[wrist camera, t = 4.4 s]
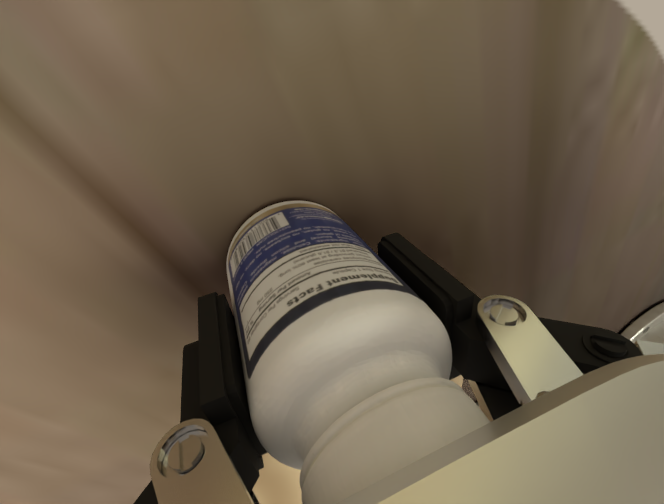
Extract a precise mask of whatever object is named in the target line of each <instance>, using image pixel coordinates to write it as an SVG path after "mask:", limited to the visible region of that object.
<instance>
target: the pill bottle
mask: <svg viewBox="0 0 664 504" xmlns="http://www.w3.org/2000/svg"><path fill="white" fill-rule="evenodd" d="M226 264H227V277H228V284H229V290H230V295H231V301H232V307H233V313H234V319H235V325H236V331H237V337H238V343H239V348H240V355H241V361H242V368H243V374H244V380H245V387H246V393H247V400H248V406H249V412H250V417H251V421H252V425H253V428H254V431H255V433H256V435H257V437H258V439H259V441H260V443H261V444H262V446H263V447H264V448H265V450H266V451H267V452H268V453H269V454H270V455H271V456H272V457H273V458H275V459H276V460H278V461H279V462H281V463H282V464H285V465H287V466H289V467H292V468H295V469H298V470H301V472H300V488H301V491H302V504H336V503H338V502H340V501H341V500H343V499H345V498H347V497H349V496H351V495H353V494H355V493H356V492H358V491H360V490H362V489H364V488H366V487H368V486H370V485H372V484H373V483H375V482H377V481H379V480H381V479H383V478H385V477H387V476H389V475H390V474H392V473H394V472H396V471H398V470H400V469H402V468H404V467H406V466H408V465H410V464H411V463H413V462H415V461H417V460H419V459H421V458H423V457H425V456H427V455H429V454H430V453H432V452H434V451H436V450H438V449H440V448H442V447H444V446H446V445H448V444H450V443H451V442H453V441H455V440H457V439H459V438H461V437H463V436H465V435H467V434H469V433H471V432H473V431H474V430H476V429H478V428H480V427H482V426H484V425H486V424H488V423H490V421H489V419H488V418H487V417H486V416H485V414H484V413H483V412H482V410H481V409H480V408H479V407H478V406H477V404H476V403H475V402H474V401H473V400H472V399H471V398H470V397H469V396H468V395H467V394H466V393H465V392H464V391H463V390H462V388H461V387H460V386H459V385H457V384H456V383H455V382H453V381H451V380H449V377H450V372H451V367H452V348H451V342H450V339H449V336H448V333H447V331H446V329H445V327H444V325H443V323H442V322H441V321H440V319H439V318H438V317H437V316H436V314H435V313H434V312H433V311H432V310H431V309H430V308H429V307H428V305H427V304H426V303H425V302H424V301H423V300H422V299H421V298H420V297H419V296H418V295H417V294H416V293H415V292H414V291H413V290H412V289H411V288H410V287H409V286H408V285H407V284H406V283H405V282H404V281H403V280H402V279H401V278H400V277H399V276H398V275H397V274H396V273H395V272H394V271H393V270H392V269H391V268H390V267H389V266H388V265H387V264H386V263H385V262H384V261H383V260H382V259H381V258H380V257H379V256H378V255H377V254H376V253H375V252H374V251H373V250H372V249H371V248H370V247H369V246H368V245H367V244H366V243H365V242H364V241H363V240H362V239H361V238H360V237H359V236H358V235H357V234H356V233H355V232H354V231H353V230H352V229H351V228H350V227H349V226H348V225H347V224H346V223H345V222H344V221H343V220H342V219H341V218H340V217H339V216H338V215H336V214H335V213H334V212H333V211H331V210H330V209H328V208H326V207H324V206H322V205H320V204H317V203H313V202H308V201H286V202H280V203H277V204H273V205H271V206H268V207H266V208H264V209H262V210H260V211H259V212H257V213H256V214H254V215H253V216H252V217H250V218H249V219H248V220H247V221H246V222H245V223H244V224H243V225H242V226H241V227H240V229H239V230H238V231H237V233H236V234H235V236H234V238H233V240H232V242H231V244H230V247H229V251H228V255H227V262H226Z"/></svg>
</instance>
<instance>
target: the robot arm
mask: <svg viewBox="0 0 664 504" xmlns="http://www.w3.org/2000/svg"><path fill="white" fill-rule="evenodd" d="M378 256H379V257H380V258H381V259H382V260H383V261H384V262H385V263H386V264H387V265H388V266H389V267H390V268H391V269H392V270H393V271H394V272H395V273H396V274H397V275H398V276H399V277H400V278H401V279H402V280H403V281H404V282H405V283H406V284H407V285H408V286H409V287H410V288H411V289H412V290H413V291H414V292H415V293H416V294H417V295H418V296H419V297H420V298H421V299H422V300H423V301H424V302H425V303H426V304H427V305H428V307H429V308H430V309H431V310H432V311H433V312H434V313H435V314H436V316H437V317H438V318H439V319H440V321H441V322H442V323H443V325H444V327H445V329H446V331H447V333H448V336H449V339H450V342H451V348H452V367H451V372H450V377H449V380H451V379H453V378H456V377H458V376H460V375H462V377H463V378H464V379H468V381H469V384H470V386H471V388H472V390H473V393H474V395H475V397H476V399H477V402H478V404H479V406H480V408H481V410H482V412H483V413H484V414H485V416H486V417H487V418H488V419H489V421H490V423H488V424H486V425H484V426H482V427H480V428H478V429H476V430H474V431H473V432H471V433H469V434H467V435H465V436H463V437H461V438H459V439H457V440H455V441H453V442H451V443H450V444H448V445H446V446H444V447H442V448H440V449H438V450H436V451H434V452H432V453H430V454H429V455H427V456H425V457H423V458H421V459H419V460H417V461H415V462H413V463H411V464H410V465H408V466H406V467H404V468H402V469H400V470H398V471H396V472H394V473H392V474H390V475H389V476H387V477H385V478H383V479H381V480H379V481H377V482H375V483H373V484H372V485H370V486H368V487H366V488H364V489H362V490H360V491H358V492H356V493H355V494H353V495H351V496H349V497H347V498H345V499H343V500H341V501H340V502H338V503H336V504H664V302H663V303H661V304H659V305H657V306H655V307H653V308H652V309H650V310H649V311H647V312H646V313H644V314H643V315H642V316H640V317H639V318H638V319H636V320H635V321H634V322H633V323H632V324H631V325H629V326H628V327H627V328H626V329H625V330H624V331H623V332H622V333H621V334H618V333H615V332H613V331H610V330H606V329H602V328H596V327H591V326H585V325H579V324H573V323H568V322H562V321H556V320H550V319H545V318H539V317H536V316H535V314H534V313H533V312H532V311H531V309H530V308H529V307H528V306H527V305H526V304H524V303H523V302H521V301H519V300H518V299H515V298H512V297H509V296H504V295H492V296H488V297H485V298H483V299H482V300H481V299H480V298H479V297H478V296H476V295H475V294H474V293H473V292H471V291H470V290H469V289H468V288H466V287H465V286H464V285H463V284H462V283H460V282H459V281H458V280H457V279H455V278H454V277H453V276H452V275H450V274H449V273H448V272H447V271H445V270H444V269H443V268H442V267H440V266H439V265H438V264H437V263H435V262H434V261H433V260H431V259H430V258H428V257H427V256H426V255H425V254H423V253H422V252H421V251H420V250H418V249H417V248H416V247H415V246H413V245H412V244H411V243H410V242H409V241H407V240H406V239H405V238H404V237H402V236H401V235H400V234H398V233H394V234H391V235H387V236H384V237H382V239H381V242H379V243H378ZM198 332H199V341H196V342H193V343H191V344H188V345H185V346H184V349H183V368H182V394H181V421H180V424H178V425H176V426H174V427H173V428H172V429H171V430H170V431H169V432H167V433H166V434H165V435H164V437H163V438H162V439H161V440H160V442H159V443H158V444H157V446H156V448H155V450H154V452H153V454H152V457H151V461H150V475H151V479H152V480H151V482H150V483H149V484H148V486H147V487H146V488H145V489H144V491H143V492H142V493H141V495H140V496H139V497H138V499H137V500H136V501H135V503H134V504H260V502H259V500H258V498H257V496H256V494H255V492H254V490H253V487H254V485H255V484H256V482H257V480H258V478H259V476H260V475H259V470H260V469H262V468H264V464H263V458H262V455H264V454H266V453H268V452H267V451H266V450H265V448H264V447H263V446H262V444H261V443H260V441H259V439H258V437H257V435H256V433H255V431H254V428H253V425H252V421H251V417H250V412H249V406H248V400H247V393H246V387H245V380H244V374H243V368H242V361H241V355H240V348H239V343H238V337H237V331H236V325H235V319H234V316H233V314H232V311H231V309H230V307H229V304H228V302H227V300H226V297H225V295H224V294H222V295H219V296H218V294H217V293H216V292H214V293H211V294H208V295H205V296H202V297H199V298H198Z"/></svg>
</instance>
